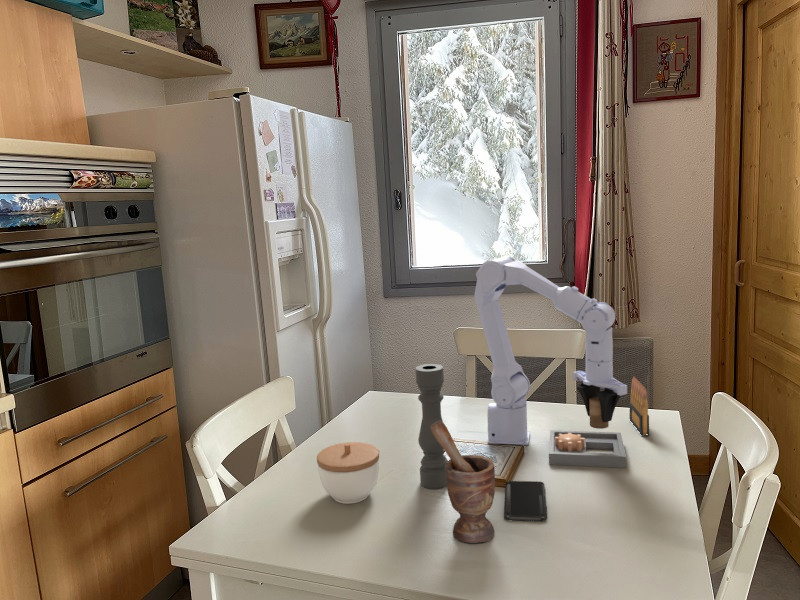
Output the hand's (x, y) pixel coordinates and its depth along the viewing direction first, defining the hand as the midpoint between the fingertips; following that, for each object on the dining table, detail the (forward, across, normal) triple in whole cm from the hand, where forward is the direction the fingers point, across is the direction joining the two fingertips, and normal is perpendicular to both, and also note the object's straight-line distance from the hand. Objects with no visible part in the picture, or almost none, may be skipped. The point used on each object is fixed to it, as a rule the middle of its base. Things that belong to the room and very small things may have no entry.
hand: (599, 418), depth 145 cm
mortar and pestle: (+9, +13, -44) cm, 46 cm away
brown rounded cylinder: (+2, 0, 0) cm, 2 cm away
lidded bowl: (+9, -12, -56) cm, 57 cm away
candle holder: (+9, -8, -38) cm, 40 cm away
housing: (+8, -2, -2) cm, 9 cm away
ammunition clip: (+9, -6, +19) cm, 22 cm away
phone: (+9, +9, -28) cm, 30 cm away
